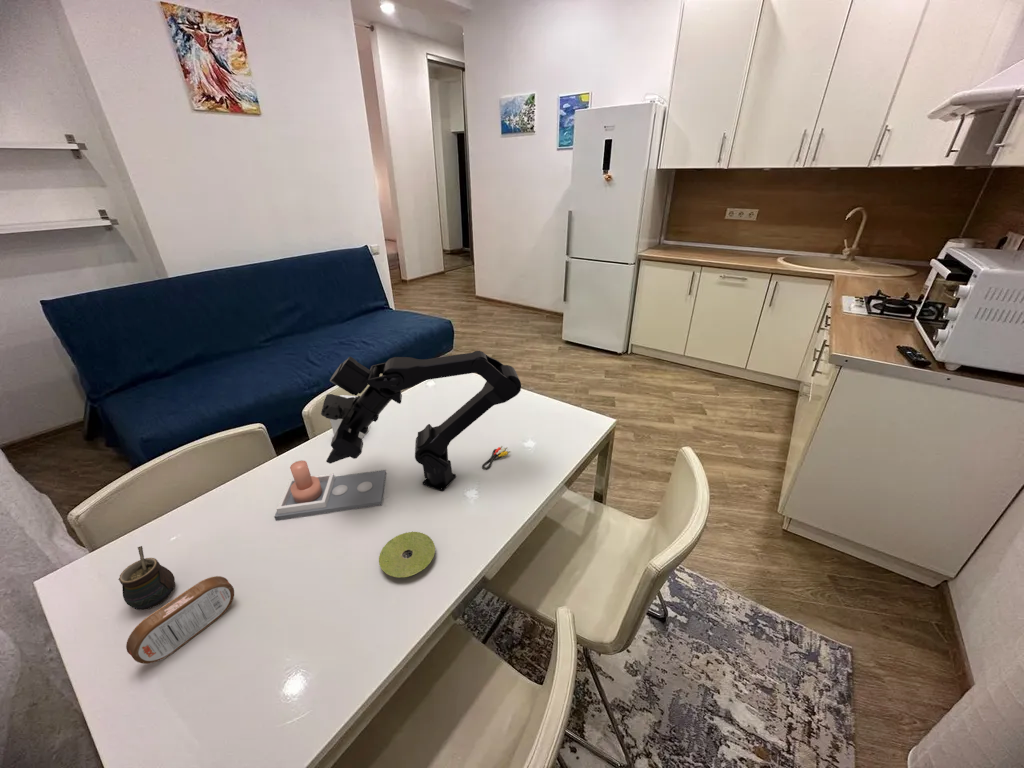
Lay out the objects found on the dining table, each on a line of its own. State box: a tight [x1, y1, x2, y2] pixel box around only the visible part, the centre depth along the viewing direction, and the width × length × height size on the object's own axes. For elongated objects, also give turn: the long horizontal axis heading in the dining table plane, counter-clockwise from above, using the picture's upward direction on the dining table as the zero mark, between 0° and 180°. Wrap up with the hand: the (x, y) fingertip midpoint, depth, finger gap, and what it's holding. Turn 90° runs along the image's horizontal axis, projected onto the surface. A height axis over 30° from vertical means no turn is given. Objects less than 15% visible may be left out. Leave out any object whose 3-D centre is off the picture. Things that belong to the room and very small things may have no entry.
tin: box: [125, 575, 235, 665], centre depth 70 cm, size 15×3×8 cm, turn 147°
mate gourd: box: [117, 545, 176, 611], centre depth 75 cm, size 7×8×10 cm
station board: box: [273, 469, 387, 521], centre depth 101 cm, size 24×12×3 cm, turn 101°
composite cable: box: [481, 445, 512, 471], centre depth 113 cm, size 10×5×2 cm, turn 136°
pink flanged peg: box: [289, 460, 322, 503], centre depth 98 cm, size 6×6×9 cm
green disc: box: [378, 531, 436, 578], centre depth 84 cm, size 11×11×2 cm
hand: (331, 450), depth 96 cm, fingers open, 9 cm apart
